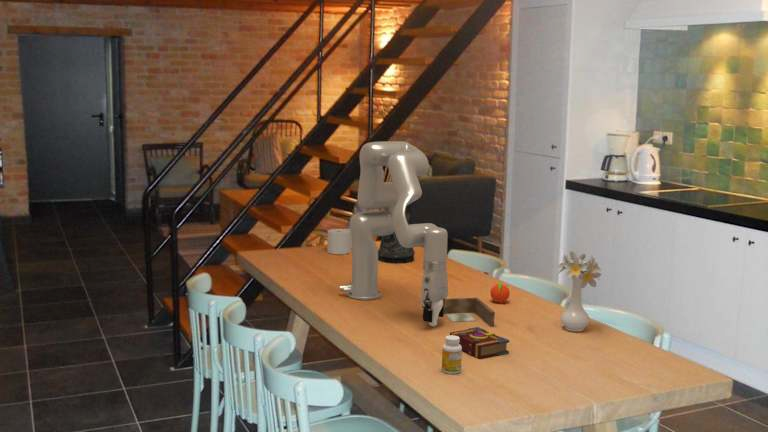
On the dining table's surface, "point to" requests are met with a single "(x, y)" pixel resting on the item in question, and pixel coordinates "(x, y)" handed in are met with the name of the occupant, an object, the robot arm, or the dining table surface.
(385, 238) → the beer stein
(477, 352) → the decorative book
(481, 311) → the corner fence
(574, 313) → the flower vase
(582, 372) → the dining table surface
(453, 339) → the supplement bottle
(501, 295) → the clementine
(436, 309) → the lightbulb
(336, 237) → the toilet tissue
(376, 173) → the robot arm
